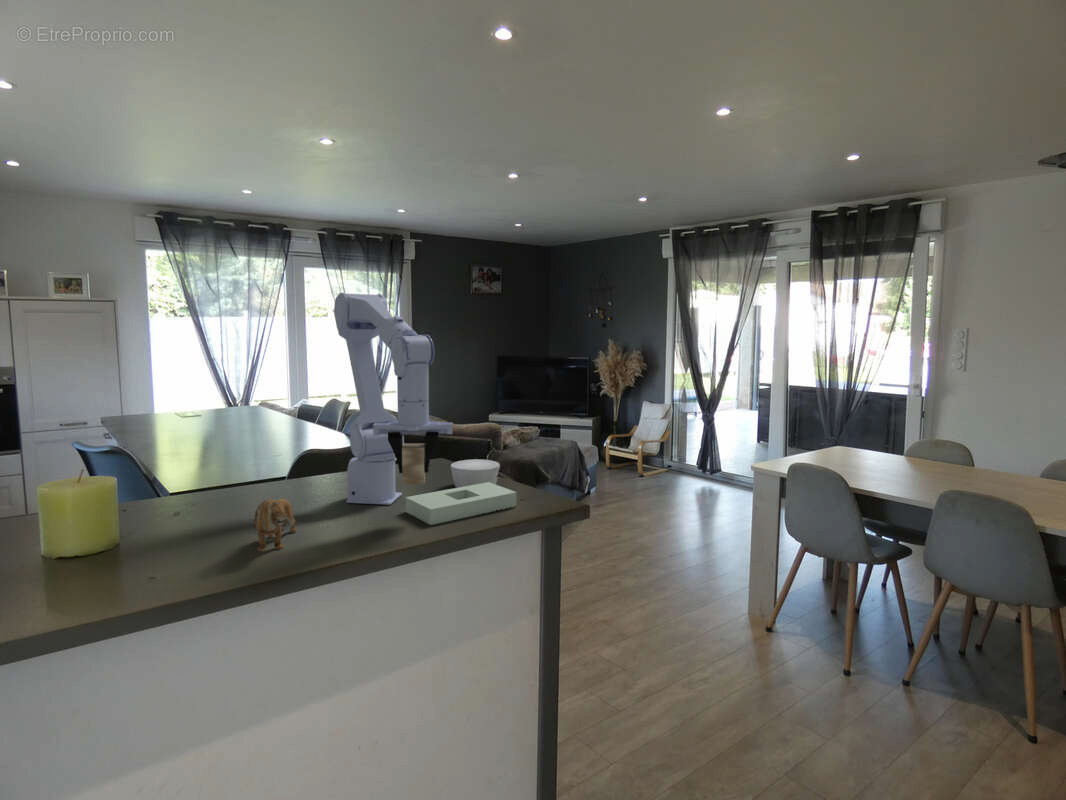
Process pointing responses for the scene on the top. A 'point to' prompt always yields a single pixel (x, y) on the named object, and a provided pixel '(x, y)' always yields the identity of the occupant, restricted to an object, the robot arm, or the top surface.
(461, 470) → the ramekin
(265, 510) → the orange animal figure
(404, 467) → the peg
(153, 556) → the top surface
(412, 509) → the socket block
